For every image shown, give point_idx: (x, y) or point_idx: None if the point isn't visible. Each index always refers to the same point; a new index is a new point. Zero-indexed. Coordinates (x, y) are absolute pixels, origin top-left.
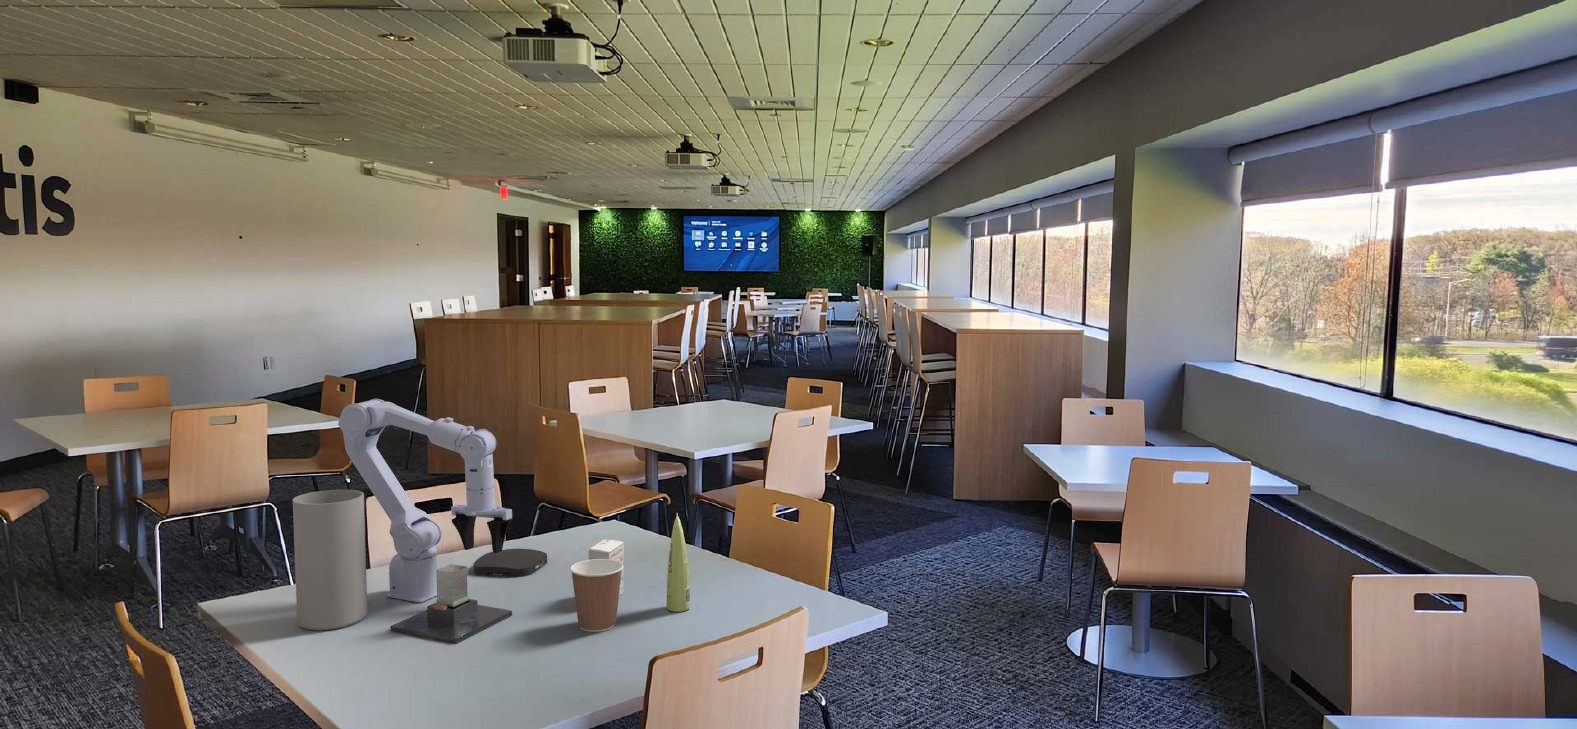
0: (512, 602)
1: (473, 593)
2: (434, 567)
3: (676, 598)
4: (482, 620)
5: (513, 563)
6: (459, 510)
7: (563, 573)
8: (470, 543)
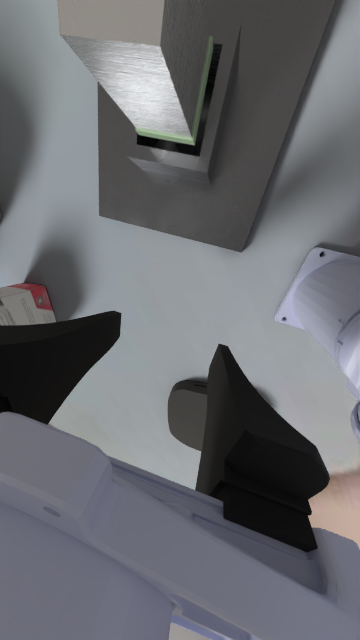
0: (138, 280)
1: (220, 315)
2: (318, 318)
3: None
4: (115, 135)
5: (195, 405)
6: (275, 595)
7: (136, 389)
8: (213, 368)
